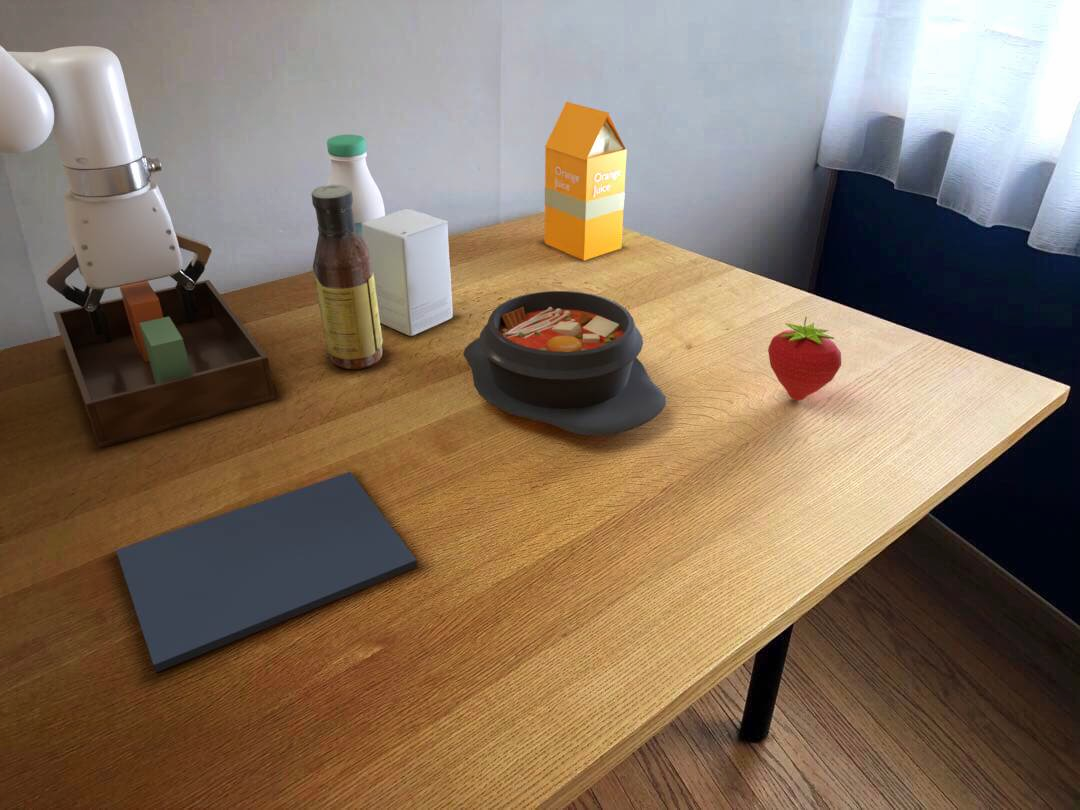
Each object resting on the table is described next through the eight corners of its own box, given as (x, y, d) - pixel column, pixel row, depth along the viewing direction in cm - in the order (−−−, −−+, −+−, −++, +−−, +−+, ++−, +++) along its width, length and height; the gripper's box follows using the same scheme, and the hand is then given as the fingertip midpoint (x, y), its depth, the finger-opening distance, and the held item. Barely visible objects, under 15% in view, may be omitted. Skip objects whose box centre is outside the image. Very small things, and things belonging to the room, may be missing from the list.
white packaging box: (455, 318, 107) (450, 220, 100) (409, 338, 102) (401, 237, 96) (415, 301, 111) (408, 206, 105) (370, 319, 107) (359, 221, 100)
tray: (100, 448, 83) (86, 404, 80) (65, 351, 99) (53, 312, 97) (275, 398, 91) (268, 357, 88) (216, 316, 107) (208, 279, 105)
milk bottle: (373, 274, 118) (358, 126, 108) (403, 293, 113) (390, 139, 103) (323, 289, 114) (301, 137, 104) (351, 309, 109) (332, 150, 99)
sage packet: (167, 406, 88) (151, 346, 85) (154, 381, 93) (139, 322, 89) (197, 398, 90) (182, 338, 86) (183, 374, 94) (169, 316, 90)
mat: (156, 673, 60) (153, 665, 59) (118, 557, 70) (115, 549, 69) (417, 567, 69) (416, 559, 68) (351, 478, 79) (350, 471, 78)
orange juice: (581, 231, 133) (586, 97, 122) (622, 248, 127) (630, 108, 117) (543, 243, 129) (544, 105, 118) (583, 261, 123) (588, 117, 112)
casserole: (425, 369, 96) (419, 301, 92) (555, 324, 106) (556, 260, 101) (565, 476, 79) (567, 398, 75) (705, 411, 89) (714, 339, 84)
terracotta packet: (145, 362, 96) (129, 305, 93) (134, 341, 101) (119, 285, 97) (172, 355, 98) (158, 299, 94) (161, 334, 102) (147, 280, 98)
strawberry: (818, 424, 87) (836, 336, 82) (750, 399, 91) (763, 314, 86) (841, 400, 91) (860, 315, 86) (775, 377, 95) (789, 294, 90)
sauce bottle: (354, 341, 102) (333, 175, 91) (395, 354, 99) (378, 184, 89) (315, 364, 97) (288, 192, 86) (357, 379, 94) (335, 202, 84)
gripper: (186, 155, 95) (217, 299, 104) (9, 181, 87) (60, 334, 96) (203, 172, 90) (235, 322, 99) (17, 202, 82) (70, 362, 91)
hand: (148, 327), depth 98 cm, fingers open, 8 cm apart
